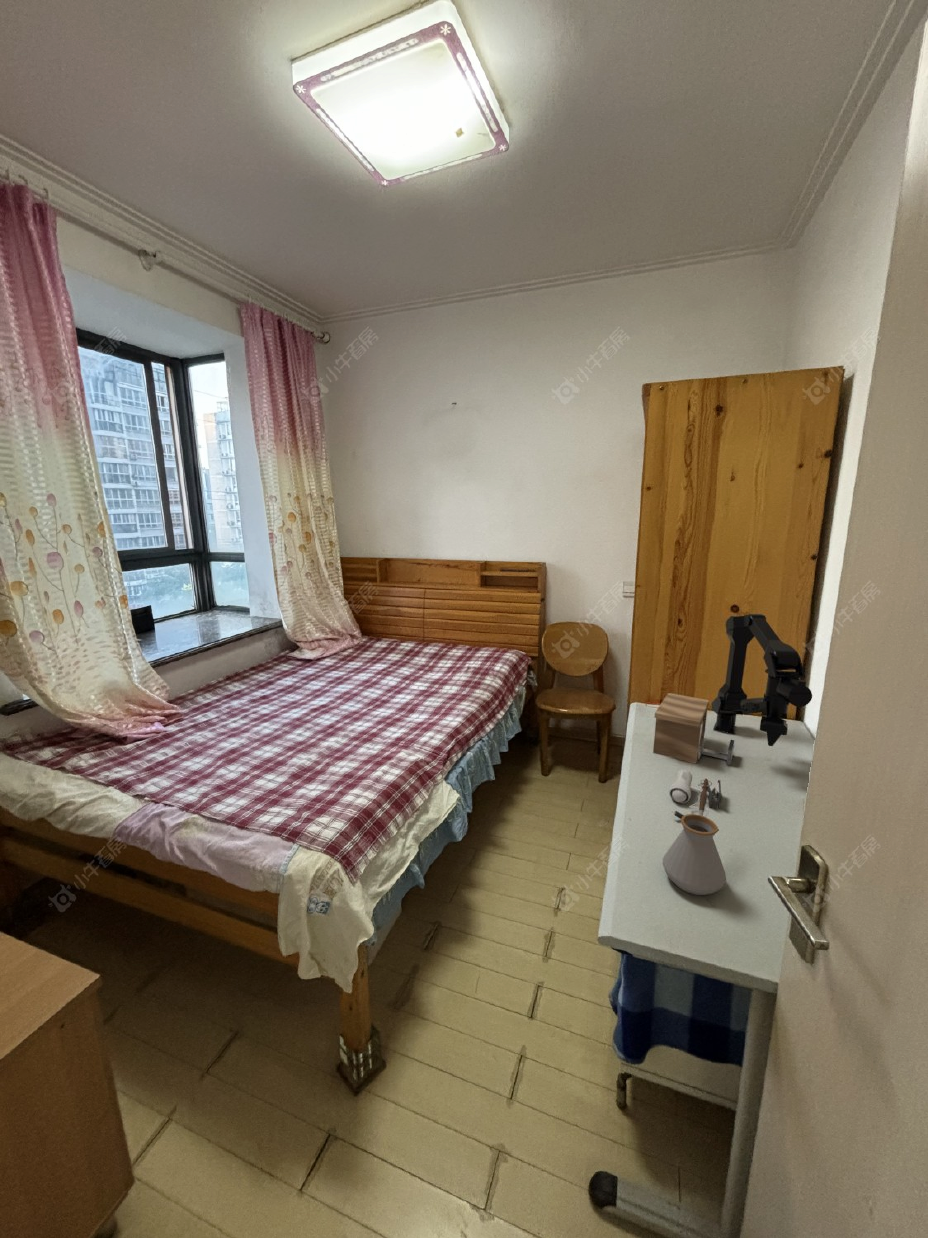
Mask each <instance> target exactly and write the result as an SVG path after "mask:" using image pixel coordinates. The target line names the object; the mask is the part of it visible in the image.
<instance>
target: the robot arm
mask: <svg viewBox="0 0 928 1238" xmlns="http://www.w3.org/2000/svg"><path fill="white" fill-rule="evenodd" d="M725 629H726V631H725V633H726V636H727V637H728V639H729V641H730V645H729V652H728V659H727V667H726V675H725V681H724V684H723V685H722V686H721V687H720V688H719V689H718V692H717V693H718V694H717V696H716V697H715V698H714V699H713V701H712V702H711V703H710V704H711V705H710V708H711V710H712V711H713V712H714V713H715V714H716V720H715V723H714V726H713V729H712V730H713V731H717V732H723V733H726V734H731V735H736V731H737V726H736V723H737V722H736V721H737V715H739V716H740V715H741V716H743V715H744V716H749V715H750V714H752V715H753V714H761V719H760V724H759V731H761V732H765V733H766V736H767V737H766V738H767V745H768V746H769V747H770V746H771V747H773V746H775V744H776V742H777V741H778V739H780V737H781V736H787V735H788V727H789V725H788V723H787V720H788V712H789V711H788V710H789V705H790V704H791V705H793V706H795V707H798V708H801V707H805V706H807V705H808V704H809V703H811V701H812V699H813V693H812V690H811V689H810V688H809V687H807V686H806V685H807V682H806V681H805V680H803V679H806V674H805V673H806V671H805V668H804V665H803V663H802V660H801V659H802V658H801V656H800V654H799V652H798V651H797V650H796V649H795V648H793V646H792V645H789V644H788V643H785V642H783V641H782V640H781V639H780V637H779V636H778V635H777V633H776V632H775V631H774V629H773V628H772V626H771V625H770V624H769V622H768V621H767V617H766V615H764V614H762V613H747V614H744V615H731V616H729V618H727V619H726V620H725ZM754 638H755V639H756V641H757V642H758V644H759V645H760V647H761V648H762V649H763V652H764V654H763V657H762V658H763V661H764V664H765V665H766V669H765V670H764V673H766V674H767V679H766V688H765V693H763V697H752V698H748V694H747V693H746V692H745V690H744V689H743V679H744V671H745V666H746V665H745V664H746V658H747V651H748V644H749V643H750V642H751V641H752V640H753V639H754Z"/></svg>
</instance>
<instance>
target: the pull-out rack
mask: <svg viewBox="0 0 928 1238" xmlns="http://www.w3.org/2000/svg"><path fill="white" fill-rule="evenodd" d="M705 743H706V738H705V737H704V738H701V739H700V744H699V748H698V757H697V761H699V760H700V759H701V756H702V755H705V756H709V757H713V758H717V759H721V760H726V763H725V764H726V765H729V766H731V764H732V759H733V754H734V747H735V739H730V741H729V744H728V749H727V753H726V752H722V751H721V752H720V751H716V750H713V749H707V748H704V747H705Z"/></svg>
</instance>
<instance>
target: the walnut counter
mask: <svg viewBox="0 0 928 1238" xmlns="http://www.w3.org/2000/svg"><path fill="white" fill-rule="evenodd" d="M662 700H663V701H661V703H660V705H659V706H658V708H657V709H656V710H655V712H654V718H655V727H654V736H653V737H654V738H653V739H654V740H653V749H652V750H653V751H652V753H653V754H655V755H657V754H658V755H661V756H665V757H669V758H672V759H677V760H681V761H685V762H689V763H694V764H697V763H698V759H697V757H698V748H699V739H700V730H701V722H702V721H703V727H702V733H701V738H705V736H706V735H705V733H706V726H707V725H706V723H707V717H708V708H709V705H710V700H708V699H703V698H698V697H694V696H693V697H692V696H687V695H681V694H677V693H669V692H668V693H667V694H666V696H665V697H664V699H662Z"/></svg>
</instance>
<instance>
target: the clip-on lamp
mask: <svg viewBox="0 0 928 1238" xmlns="http://www.w3.org/2000/svg"><path fill="white" fill-rule="evenodd" d="M692 781H693V774H692V773H691V771H689V770H688V769H680V770H679V771H678V773H677V775H676V778H675V780H674V783H672V784H671V785H670V787H669V789H668V790H669V791H668V794H669V797H670V798H671V799H672V800H673V801H675V803H676V802H677V803H680V804H686V803H688V802H689V801H690V799H691V798H692V791H693V792H696V793H698V794H700V795H701V793H702V790H703V789H702V786H703V784H704V783H703V782H702V783H703V784H701V782H700V783H698V784H697V786H698V787H700V788H701V789H700V788H697V787H695V786H692ZM710 782H711V781H710ZM710 782H708V785H711V783H712V782H711V783H710ZM721 785H722V784H721V780H720V779H718V780H717V783H716V784H713V783H712V785H711V786H707V787H708V790H707V801H708V803H707V804H708V807H706V806H705V808H704V810H706V813H705V814H703V815H704V817H707V815H708V814H709V811H710V810H709V808H710V809H711V808H712V805H713V801H714V798H715V799H716V802H717V803H716V809H720V807H721V803H722V799H723V793H722V790H721V789H722V787H721ZM700 795H698V800H697V802H695V803H693V804H690V805H689V806H688V807H689V809H699V805H698V804H700ZM697 805H698V806H697ZM671 813H673V814H674V816H675V817H677V818H678V819H680V820H681V818H682V817H683V816H684V814H682V813H681V812H679V811H677V810H674V811H673V810H671Z"/></svg>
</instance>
